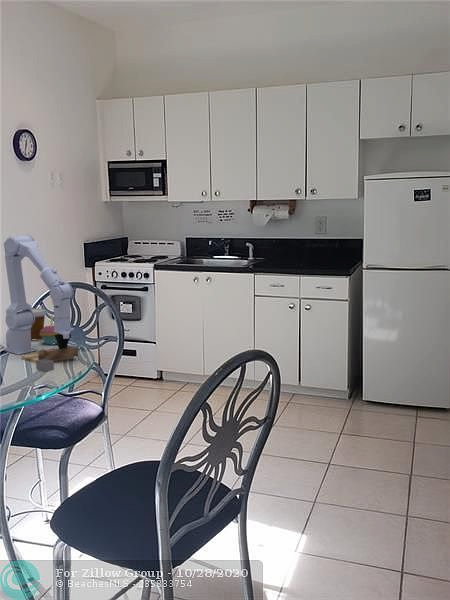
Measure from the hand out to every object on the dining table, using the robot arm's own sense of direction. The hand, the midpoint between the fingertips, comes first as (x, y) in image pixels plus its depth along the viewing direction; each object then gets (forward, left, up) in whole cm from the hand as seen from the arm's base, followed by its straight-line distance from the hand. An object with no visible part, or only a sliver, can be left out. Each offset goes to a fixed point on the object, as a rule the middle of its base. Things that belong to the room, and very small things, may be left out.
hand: (62, 353), depth 224 cm
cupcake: (-22, +11, -3) cm, 25 cm away
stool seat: (-5, -3, -2) cm, 7 cm away
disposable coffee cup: (-33, +11, -2) cm, 36 cm away
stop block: (+6, -12, -2) cm, 13 cm away
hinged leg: (+1, -3, -1) cm, 3 cm away
